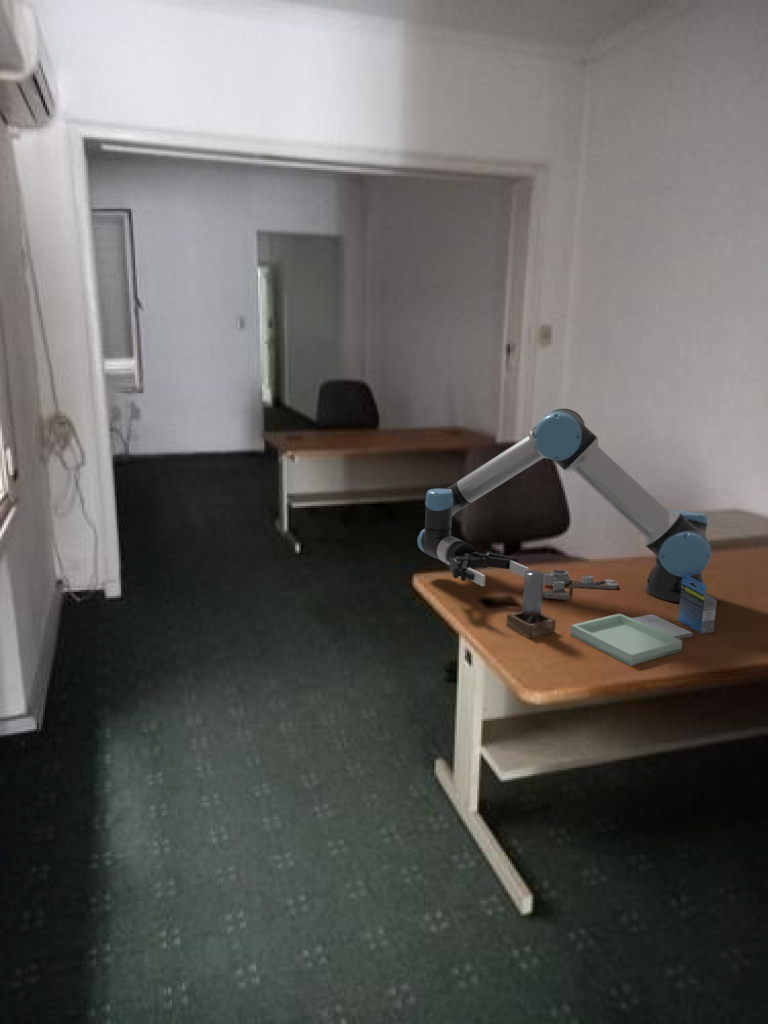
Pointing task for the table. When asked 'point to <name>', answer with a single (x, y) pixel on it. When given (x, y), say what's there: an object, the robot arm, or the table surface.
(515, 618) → the pin socket
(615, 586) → the pulley system
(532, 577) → the pin
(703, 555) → the robot arm
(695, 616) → the label tape box
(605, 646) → the tray
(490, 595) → the table surface
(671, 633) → the external hard drive
